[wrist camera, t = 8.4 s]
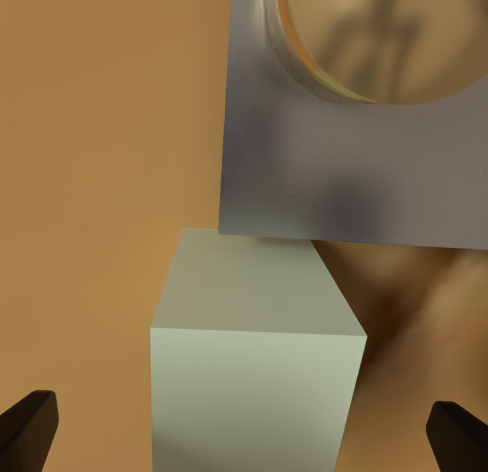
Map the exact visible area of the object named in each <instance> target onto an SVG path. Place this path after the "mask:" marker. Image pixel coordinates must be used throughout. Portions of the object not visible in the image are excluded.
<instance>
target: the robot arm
mask: <svg viewBox="0 0 488 472" xmlns="http://www.w3.org/2000/svg"><path fill="white" fill-rule="evenodd" d="M58 422H59V415H58V408H57V400H56V395H55V392H54V391H51V390H36V391H33V392H31V393H30V394H29V395H27V396H26V397H24V398H23V399H22V400H20V401H19V402H18V403H16V404H15V405H13V406H12V407H11V408H9V409H8V410H7V411H5V412H4V413H2V414H1V415H0V472H42V469H43V466H44V464H45V461H46V458H47V455H48V452H49V450H50V447H51V444H52V441H53V439H54V436H55V433H56V430H57V427H58ZM426 433H427V437H428V440H429V442H430V445H431V448H432V450H433V453H434V456H435V458H436V461H437V463H438V466H439V469H440V471H441V472H488V425H486V424H485V423H484V422H482V421H481V420H479V419H478V418H477V417H475V416H474V415H472V414H471V413H469V412H468V411H467V410H465V409H464V408H462V407H461V406H459V405H458V404H457V403H455V402H452V401H436V402H435V403H434V404H433V407H432V410H431V413H430V415H429V418H428V421H427V424H426Z"/></svg>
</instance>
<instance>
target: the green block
mask: <svg viewBox="0 0 488 472" xmlns="http://www.w3.org/2000/svg"><path fill="white" fill-rule="evenodd" d="M150 339H151V401H152V463H153V472H334V468H335V464H336V460H337V456H338V452H339V448H340V444H341V440H342V436H343V432H344V428H345V424H346V420H347V416H348V412H349V408H350V404H351V400H352V396H353V392H354V388H355V384H356V380H357V376H358V372H359V368H360V364H361V360H362V356H363V352H364V348H365V344H366V340H367V335H366V333H365V332H364V330H363V328H362V326H361V325H360V323H359V321H358V320H357V318H356V316H355V315H354V313H353V311H352V310H351V308H350V306H349V305H348V303H347V301H346V300H345V298H344V296H343V295H342V293H341V291H340V289H339V288H338V286H337V284H336V283H335V281H334V279H333V278H332V276H331V274H330V273H329V271H328V269H327V268H326V266H325V264H324V263H323V261H322V259H321V258H320V256H319V254H318V253H317V251H316V249H315V247H314V246H313V244H312V242H311V241H310V240H309V239H292V238H274V237H257V236H240V235H223V234H218V229H203V228H187V227H184V228H183V231H182V234H181V237H180V240H179V243H178V246H177V249H176V252H175V255H174V258H173V261H172V264H171V267H170V270H169V273H168V276H167V279H166V282H165V285H164V288H163V291H162V294H161V297H160V300H159V303H158V306H157V309H156V312H155V315H154V318H153V321H152V324H151V327H150Z"/></svg>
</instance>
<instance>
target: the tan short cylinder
mask: <svg viewBox="0 0 488 472" xmlns="http://www.w3.org/2000/svg"><path fill="white" fill-rule="evenodd" d="M266 10H267V22H268V27H269V32H270V36H271V39H272V43H273V46H274V49H275V51H276V53H277V55H278V57H279V59H280V61H281V62H282V64H283V66H284V67H285V69H286V70H287V71H288V73H289V74H290V75H291V76H292V77H293V79H294V80H295V81H297V82H298V83H299V84H300V85H301V86H302V87H303V88H305V89H306V90H308V91H309V92H311V93H312V94H314V95H317V96H319V97H321V98H323V99H326V100H330V101H333V102H340V103H357V104H386V105H415V104H422V103H428V102H432V101H436V100H440V99H443V98H446V97H448V96H451V95H453V94H455V93H458V92H460V91H462V90H464V89H465V88H467V87H469V86H471V85H473V84H474V83H476V82H477V81H479V80H480V79H481V78H483V77H484V76H486V75H487V74H488V0H267V3H266Z"/></svg>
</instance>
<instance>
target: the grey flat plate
mask: <svg viewBox="0 0 488 472" xmlns="http://www.w3.org/2000/svg"><path fill="white" fill-rule="evenodd" d="M266 3H267V0H231V17H230V35H229V52H228V70H227V87H226V104H225V122H224V139H223V157H222V174H221V191H220V209H219V226H218V234H223V235H240V236H257V237H274V238H292V239H309V240H326V241H343V242H360V243H378V244H395V245H412V246H429V247H446V248H463V249H481V250H488V74H487V75H486V76H484V77H483V78H481V79H480V80H479V81H477V82H476V83H474V84H473V85H471V86H469V87H467V88H465V89H464V90H462V91H460V92H458V93H455V94H453V95H451V96H448V97H446V98H443V99H440V100H436V101H432V102H428V103H422V104H415V105H386V104H357V103H340V102H333V101H330V100H326V99H323V98H321V97H319V96H317V95H314V94H312V93H311V92H309V91H308V90H306V89H305V88H303V87H302V86H301V85H300V84H299V83H298V82H297V81H295V80H294V79H293V77H292V76H291V75H290V74H289V73H288V71H287V70H286V69H285V67H284V66H283V64H282V62H281V61H280V59H279V57H278V55H277V53H276V51H275V49H274V46H273V43H272V39H271V36H270V32H269V27H268V22H267V10H266Z"/></svg>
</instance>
